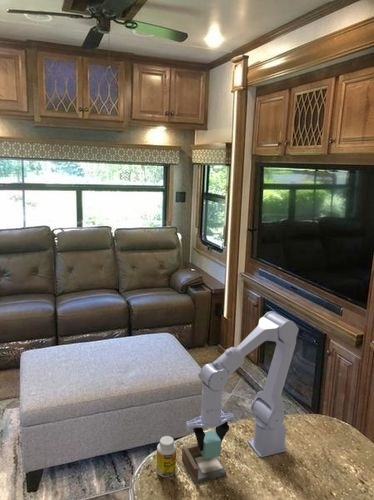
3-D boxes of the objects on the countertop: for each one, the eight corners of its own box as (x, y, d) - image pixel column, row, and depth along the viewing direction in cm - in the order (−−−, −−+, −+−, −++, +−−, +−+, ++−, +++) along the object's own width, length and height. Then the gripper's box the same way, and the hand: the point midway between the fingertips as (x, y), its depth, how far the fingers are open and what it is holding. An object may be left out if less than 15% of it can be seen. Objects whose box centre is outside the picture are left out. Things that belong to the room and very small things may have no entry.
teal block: (213, 444, 126) (214, 429, 125) (220, 455, 121) (221, 440, 120) (198, 448, 124) (198, 433, 123) (204, 459, 119) (205, 444, 118)
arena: (212, 452, 130) (212, 439, 129) (226, 475, 121) (226, 461, 120) (181, 459, 126) (182, 446, 125) (194, 483, 117) (194, 469, 116)
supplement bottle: (162, 481, 118) (163, 449, 116) (153, 468, 122) (153, 438, 120) (179, 473, 121) (180, 442, 119) (169, 461, 125) (170, 431, 123)
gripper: (227, 393, 126) (225, 433, 129) (182, 402, 121) (181, 443, 124) (238, 406, 119) (236, 448, 122) (191, 415, 114) (189, 459, 117)
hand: (209, 446), depth 122 cm, fingers closed on teal block, 5 cm apart
